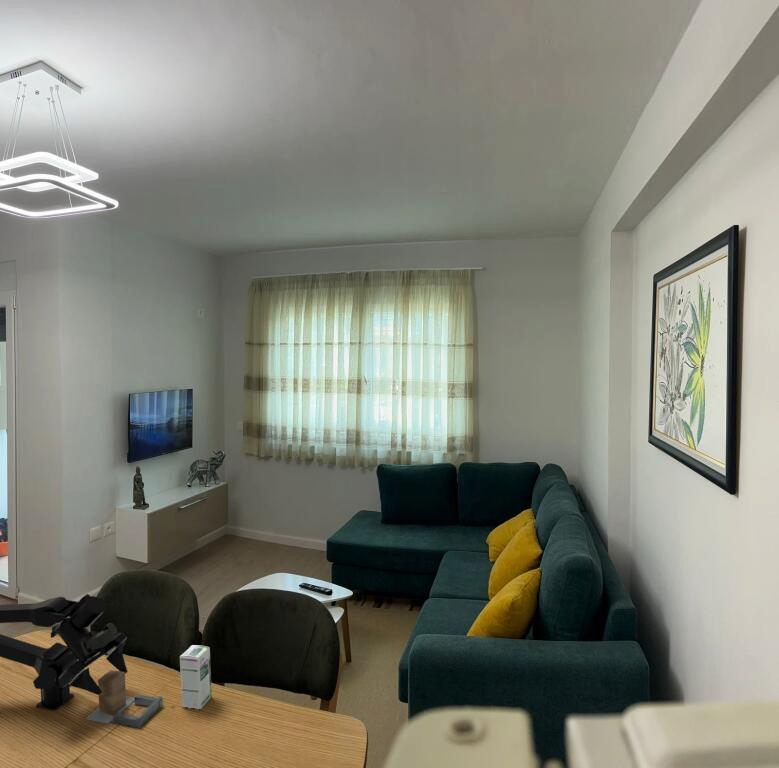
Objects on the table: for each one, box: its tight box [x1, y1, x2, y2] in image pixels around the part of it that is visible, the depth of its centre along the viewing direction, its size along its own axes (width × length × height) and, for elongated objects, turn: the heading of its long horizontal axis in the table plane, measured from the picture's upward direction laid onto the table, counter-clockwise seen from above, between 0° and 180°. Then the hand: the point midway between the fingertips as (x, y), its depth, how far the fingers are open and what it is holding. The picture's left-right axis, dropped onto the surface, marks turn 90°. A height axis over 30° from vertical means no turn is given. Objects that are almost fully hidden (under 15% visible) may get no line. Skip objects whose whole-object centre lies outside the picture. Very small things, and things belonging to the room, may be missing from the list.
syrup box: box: [179, 644, 213, 710], centre depth 146 cm, size 6×6×14 cm
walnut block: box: [97, 669, 127, 715], centre depth 143 cm, size 4×4×9 cm
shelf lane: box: [112, 693, 164, 729], centre depth 141 cm, size 8×9×2 cm
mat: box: [85, 696, 135, 725], centre depth 144 cm, size 7×10×1 cm
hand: (113, 683), depth 143 cm, fingers open, 9 cm apart
